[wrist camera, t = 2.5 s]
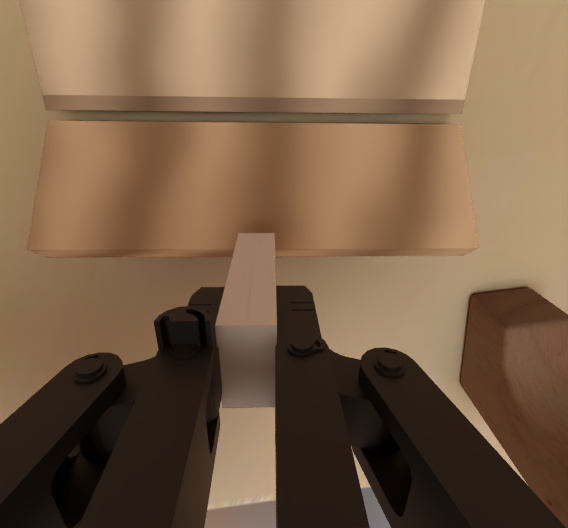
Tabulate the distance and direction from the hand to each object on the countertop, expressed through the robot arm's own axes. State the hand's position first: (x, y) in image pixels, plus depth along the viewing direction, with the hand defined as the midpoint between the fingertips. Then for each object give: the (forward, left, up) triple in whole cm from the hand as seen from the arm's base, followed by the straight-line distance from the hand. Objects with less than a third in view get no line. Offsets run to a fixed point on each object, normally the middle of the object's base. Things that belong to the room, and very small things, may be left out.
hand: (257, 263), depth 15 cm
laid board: (0, +9, -8) cm, 12 cm away
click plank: (0, +2, -6) cm, 6 cm away
